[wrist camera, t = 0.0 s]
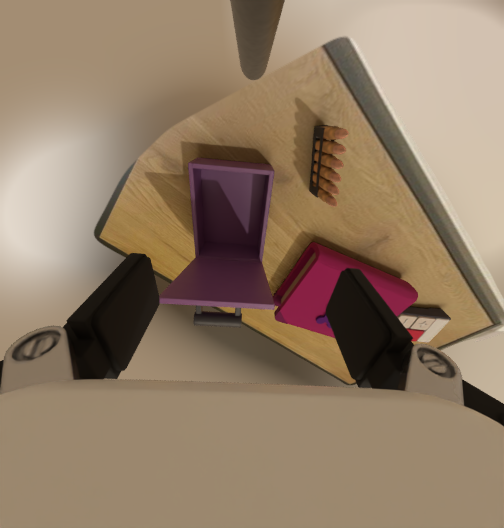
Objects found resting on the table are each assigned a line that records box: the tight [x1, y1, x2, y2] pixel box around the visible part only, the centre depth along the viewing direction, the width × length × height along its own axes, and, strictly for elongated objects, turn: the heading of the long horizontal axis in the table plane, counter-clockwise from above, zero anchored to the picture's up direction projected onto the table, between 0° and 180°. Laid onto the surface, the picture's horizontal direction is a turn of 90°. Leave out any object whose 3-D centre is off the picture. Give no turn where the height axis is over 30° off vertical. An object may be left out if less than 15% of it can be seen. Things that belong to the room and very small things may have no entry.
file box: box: [188, 158, 274, 262], centre depth 39 cm, size 17×13×7 cm
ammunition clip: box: [310, 125, 349, 207], centre depth 32 cm, size 11×2×12 cm, turn 5°
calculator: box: [397, 307, 451, 342], centre depth 60 cm, size 11×4×15 cm
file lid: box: [159, 258, 275, 328], centre depth 32 cm, size 18×13×5 cm
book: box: [273, 242, 418, 338], centre depth 51 cm, size 21×28×8 cm
